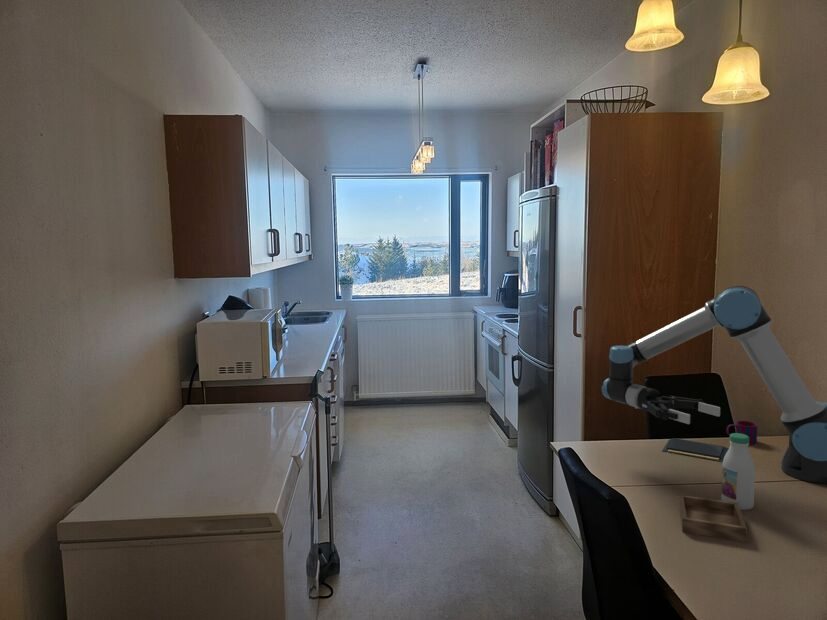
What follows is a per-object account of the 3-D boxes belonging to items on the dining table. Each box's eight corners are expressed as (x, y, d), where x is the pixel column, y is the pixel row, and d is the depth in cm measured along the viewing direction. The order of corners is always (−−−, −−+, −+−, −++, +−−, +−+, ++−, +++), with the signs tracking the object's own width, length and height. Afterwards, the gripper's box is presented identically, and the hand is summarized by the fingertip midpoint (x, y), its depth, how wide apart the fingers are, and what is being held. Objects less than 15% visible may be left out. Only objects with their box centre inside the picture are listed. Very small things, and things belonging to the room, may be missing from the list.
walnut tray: (737, 515, 138) (737, 502, 138) (746, 542, 126) (747, 528, 125) (678, 506, 144) (679, 494, 144) (682, 531, 131) (682, 518, 131)
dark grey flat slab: (731, 445, 183) (725, 459, 171) (731, 450, 183) (725, 465, 172) (669, 435, 196) (660, 447, 184) (669, 440, 196) (660, 452, 184)
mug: (759, 445, 186) (760, 426, 185) (728, 443, 189) (729, 425, 188) (752, 438, 193) (753, 421, 192) (722, 437, 195) (723, 419, 194)
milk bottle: (749, 499, 147) (751, 431, 145) (757, 512, 139) (759, 441, 137) (718, 496, 149) (720, 429, 147) (724, 509, 142) (726, 439, 140)
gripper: (669, 403, 176) (730, 421, 157) (616, 415, 165) (675, 435, 146) (669, 382, 175) (731, 397, 156) (616, 392, 164) (676, 409, 145)
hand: (704, 415), depth 151 cm, fingers open, 13 cm apart
